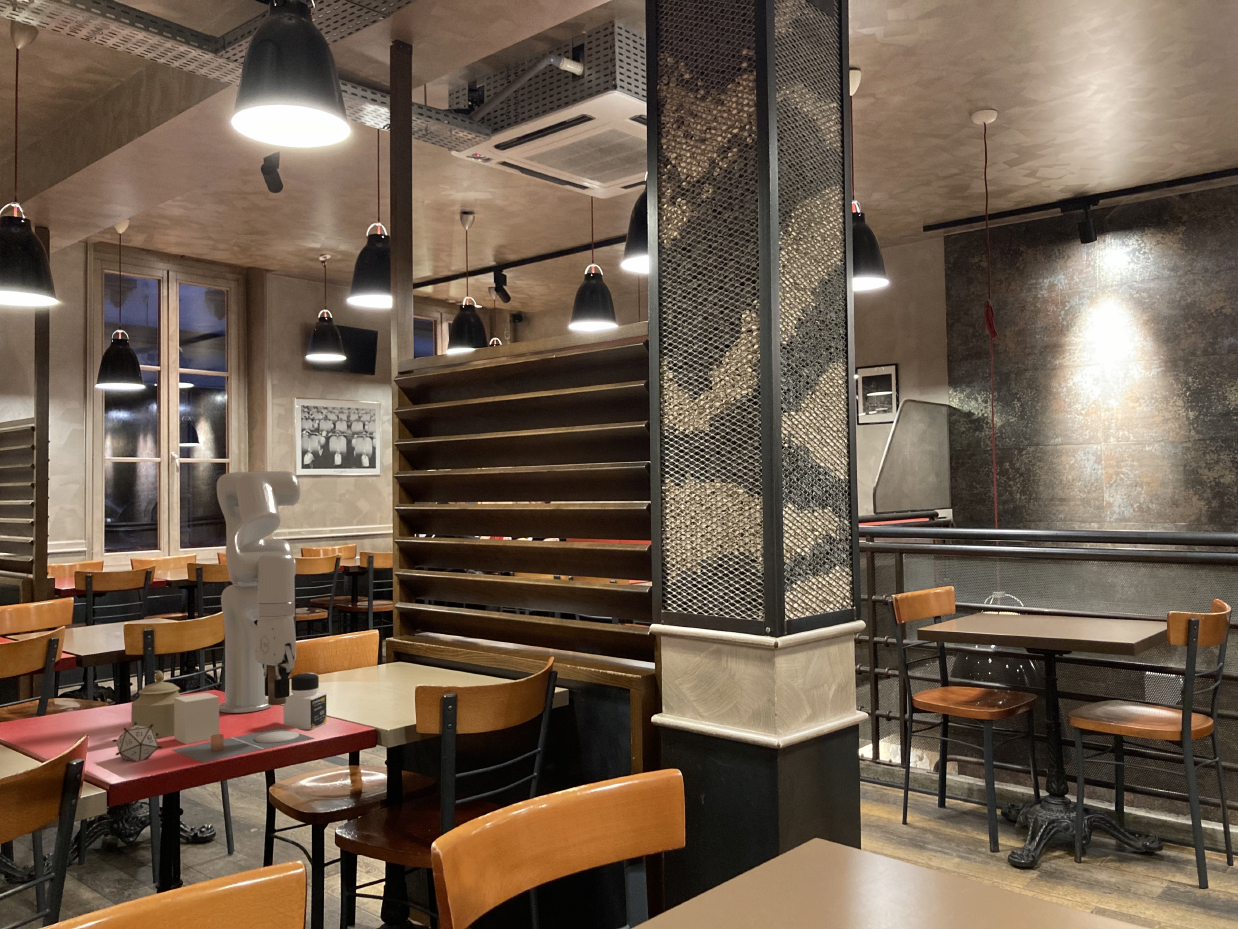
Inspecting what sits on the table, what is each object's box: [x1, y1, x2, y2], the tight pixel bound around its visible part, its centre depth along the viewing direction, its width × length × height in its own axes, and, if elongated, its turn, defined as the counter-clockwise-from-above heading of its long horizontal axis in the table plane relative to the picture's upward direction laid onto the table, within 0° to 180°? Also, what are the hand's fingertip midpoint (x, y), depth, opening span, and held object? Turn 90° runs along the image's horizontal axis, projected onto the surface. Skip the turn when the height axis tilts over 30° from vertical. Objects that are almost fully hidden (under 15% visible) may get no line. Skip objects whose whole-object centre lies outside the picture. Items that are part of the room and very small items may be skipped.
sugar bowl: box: [130, 670, 184, 740], centre depth 212 cm, size 15×11×15 cm
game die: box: [111, 721, 164, 762], centre depth 190 cm, size 9×8×10 cm
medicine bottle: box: [282, 672, 327, 731], centre depth 220 cm, size 7×7×12 cm
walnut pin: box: [267, 661, 286, 706], centre depth 205 cm, size 4×4×9 cm
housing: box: [173, 692, 220, 745], centre depth 206 cm, size 7×10×7 cm
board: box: [172, 727, 316, 763], centre depth 200 cm, size 15×24×4 cm, turn 137°
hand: (277, 695), depth 205 cm, fingers closed on walnut pin, 3 cm apart
